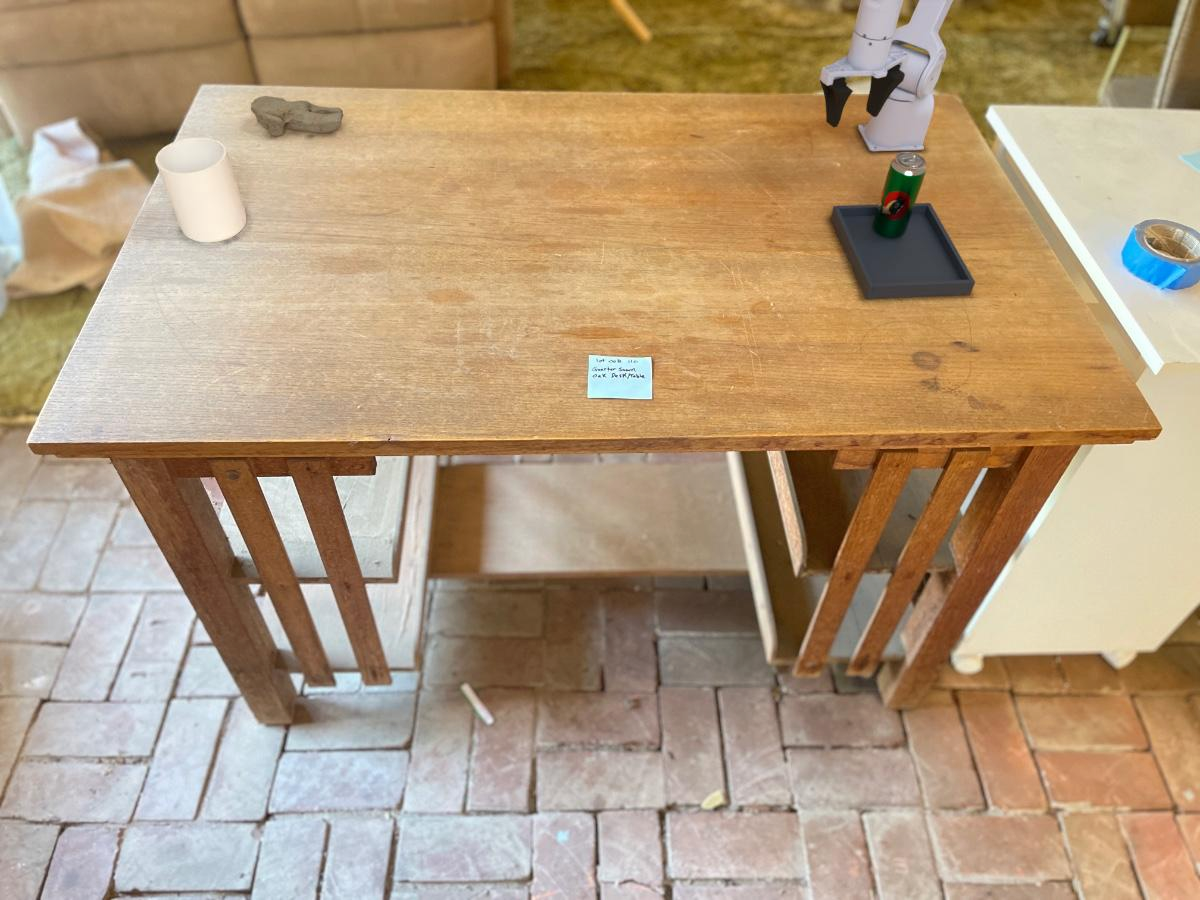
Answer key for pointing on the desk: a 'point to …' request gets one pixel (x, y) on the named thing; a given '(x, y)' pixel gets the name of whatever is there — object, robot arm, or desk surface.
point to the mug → (202, 189)
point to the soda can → (899, 194)
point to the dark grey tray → (901, 255)
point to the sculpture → (295, 116)
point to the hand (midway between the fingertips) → (851, 118)
